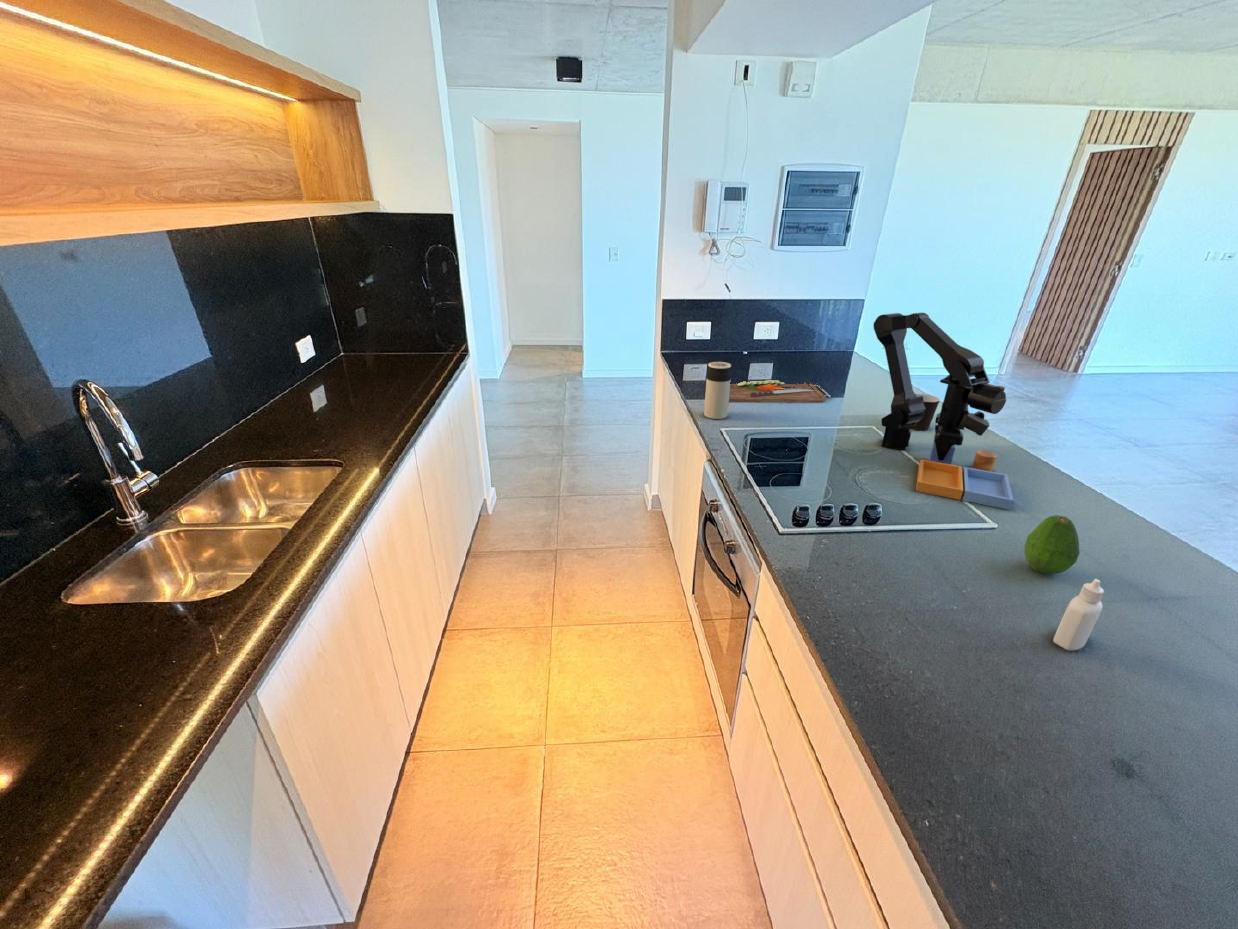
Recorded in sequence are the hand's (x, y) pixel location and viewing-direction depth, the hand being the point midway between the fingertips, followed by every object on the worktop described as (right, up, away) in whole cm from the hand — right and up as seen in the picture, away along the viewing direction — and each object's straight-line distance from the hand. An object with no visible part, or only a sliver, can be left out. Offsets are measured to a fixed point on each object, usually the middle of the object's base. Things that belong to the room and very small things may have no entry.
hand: (940, 456), depth 146 cm
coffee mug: (+9, +11, +28) cm, 31 cm away
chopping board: (-31, +26, +62) cm, 74 cm away
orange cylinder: (+9, -4, -4) cm, 10 cm away
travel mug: (-56, +15, +37) cm, 68 cm away
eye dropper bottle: (-17, -31, -61) cm, 71 cm away
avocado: (-8, -23, -44) cm, 50 cm away
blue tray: (+2, -9, -15) cm, 17 cm away
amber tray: (-7, -7, -10) cm, 14 cm away
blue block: (0, -1, 0) cm, 1 cm away
